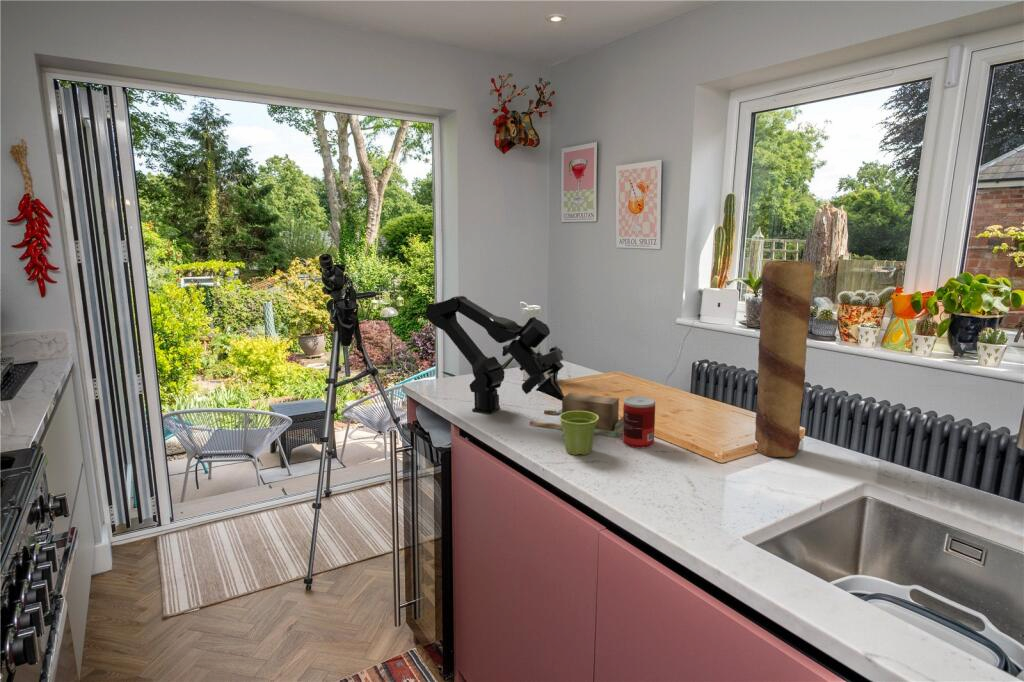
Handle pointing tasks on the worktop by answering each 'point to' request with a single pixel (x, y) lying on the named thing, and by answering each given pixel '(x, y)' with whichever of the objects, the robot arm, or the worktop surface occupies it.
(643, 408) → the canned food
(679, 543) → the worktop surface
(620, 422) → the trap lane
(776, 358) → the wafer roll
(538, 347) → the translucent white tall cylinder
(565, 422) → the plant pot
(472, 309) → the robot arm
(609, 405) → the walnut block
